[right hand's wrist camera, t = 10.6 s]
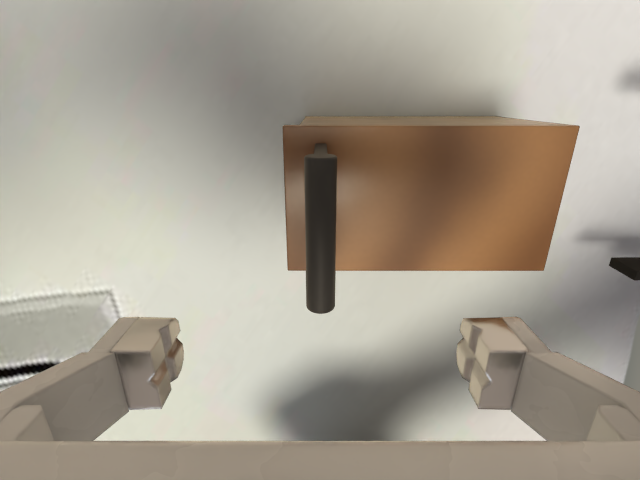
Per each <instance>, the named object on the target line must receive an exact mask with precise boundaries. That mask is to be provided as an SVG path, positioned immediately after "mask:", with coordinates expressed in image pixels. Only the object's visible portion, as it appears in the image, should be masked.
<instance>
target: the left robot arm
mask: <svg viewBox="0 0 640 480" xmlns="http://www.w3.org/2000/svg"><path fill="white" fill-rule="evenodd" d="M609 266H611V267H612V268H614V269H616V270H618V271H619V272H621V273H623V274H624V275H626V276H628V277H629V278H631V279H633V280H640V258H611V261H610V264H609Z"/></svg>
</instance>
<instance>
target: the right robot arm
mask: <svg viewBox="0 0 640 480" xmlns="http://www.w3.org/2000/svg"><path fill="white" fill-rule="evenodd" d="M179 332H180V327H179V322H178V320H177V319H176V318H158V317H141V318H140V317H123V318H119V319H118V320H117V322H116V323H115V324H114V325H113V326H112V327H111V328H110V329H109V330H108V331H107V332H106V333H105V335H104V336H103V337H102V338H101V339H100V340H99V341H98V342H97V343H96V344H95V345H94V347H93V348H92V349H91V350H90V351H89V352H84V353H80V354H78V355H76V356H74V357H72V358H70V359H68V360H66V361H64V362H61V363H59V364H57V365H55V366H53V367H51V368H49V369H47V370H45V371H43V372H41V373H39V374H37V375H35V376H32V377H30V378H28V379H26V380H24V381H22V382H20V383H18V384H16V385H14V386H12V387H10V388H8V389H5V390H3V391H1V392H0V480H640V392H638V391H636V390H634V389H632V388H630V387H628V386H626V385H624V384H622V383H620V382H618V381H616V380H614V379H612V378H610V377H607V376H605V375H603V374H601V373H599V372H597V371H595V370H593V369H591V368H589V367H587V366H585V365H583V364H581V363H578V362H576V361H574V360H572V359H570V358H568V357H566V356H564V355H562V354H560V353H557V352H551V351H550V350H549V349H548V348H547V347H546V345H545V344H544V343H543V342H542V341H541V340H540V339H539V338H538V337H537V336H536V335H535V333H534V332H533V331H532V330H531V329H530V328H529V327H528V326H527V325H526V324H525V323H524V321H523V320H522V319H520V318H518V317H499V318H463V320H462V322H461V326H460V332H461V334H462V336H463V337H464V338H463V339H462V340H461V341H460V342H459V343H458V344H457V351H456V357H457V365H458V369H459V372H460V374H461V376H462V378H464V379H465V380H467V381H468V382H470V384H469V391H470V393H471V395H472V397H473V399H474V401H475V403H476V405H477V407H478V409H502V410H511V412H513V413H514V414H515V415H516V416H517V417H519V418H520V419H521V420H522V421H524V422H525V423H526V424H527V425H528V426H530V427H531V428H532V429H533V430H534V431H536V432H537V433H538V434H539V435H541V436H542V437H543V438H544V439H545V440H547V441H93V440H95V439H96V438H97V437H98V436H100V435H101V434H102V433H103V432H104V431H106V430H107V429H108V428H109V427H111V426H112V425H113V424H114V423H115V422H117V421H118V420H119V419H120V418H121V417H123V416H124V415H125V414H126V413H128V412H129V410H137V409H162V407H163V405H164V403H165V401H166V399H167V397H168V395H169V393H170V391H171V384H170V382H172V381H173V380H175V379H176V378H178V376H179V374H180V371H181V369H182V364H183V360H184V350H183V344H182V343H181V342H180V341H179V340H178V339H177V338H176V337H177V336H178V334H179Z"/></svg>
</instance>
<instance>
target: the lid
mask: <svg viewBox="0 0 640 480" xmlns="http://www.w3.org/2000/svg"><path fill="white" fill-rule="evenodd" d="M578 131H579V126H577V125H284V126H283V153H284V180H285V208H286V235H287V263H288V270H306V303H307V308H308V309H309V310H310V311H311V312H314V313H319V314H322V313H328V312H330V311H332V310H333V309H334V307H335V271H543V270H544V267H545V263H546V259H547V255H548V251H549V247H550V243H551V239H552V235H553V231H554V227H555V223H556V219H557V215H558V211H559V207H560V203H561V199H562V195H563V191H564V187H565V183H566V179H567V175H568V171H569V167H570V163H571V159H572V155H573V151H574V147H575V143H576V139H577V135H578Z"/></svg>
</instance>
